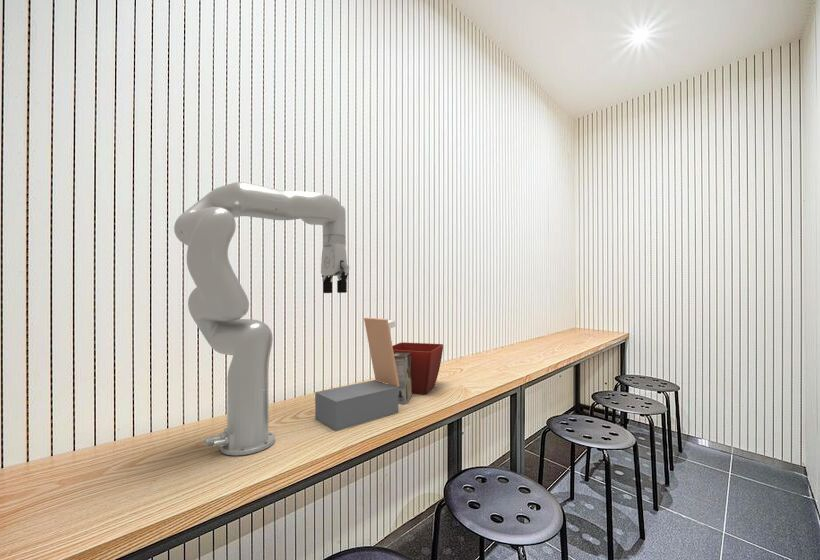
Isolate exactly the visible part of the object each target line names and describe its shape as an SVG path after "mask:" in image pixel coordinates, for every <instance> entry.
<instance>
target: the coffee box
mask: <svg viewBox="0 0 820 560" xmlns="http://www.w3.org/2000/svg"><path fill="white" fill-rule="evenodd" d="M394 357H395V363H396V368H397V374H398V380H399V385H400V386H398V405H399V404H400V405H402V404H404V405H406V404H408V402H409V401H410V399H411V398H412V395H413V393H412V389H411V353H394ZM389 385H390V384H389ZM396 387H397V386H396Z"/></svg>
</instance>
